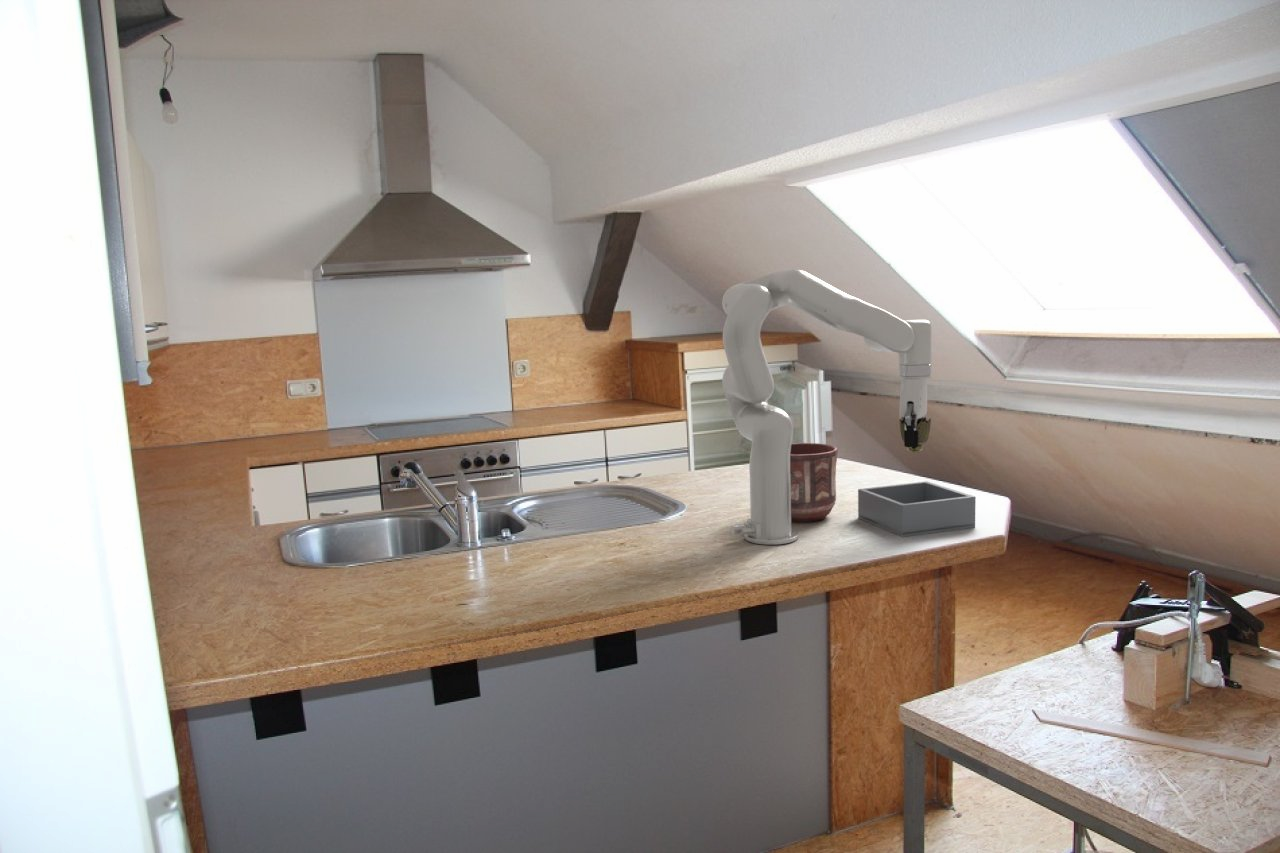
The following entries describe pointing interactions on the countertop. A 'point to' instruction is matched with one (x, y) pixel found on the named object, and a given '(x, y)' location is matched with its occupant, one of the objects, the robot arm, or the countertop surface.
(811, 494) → the pottery
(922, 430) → the brown patterned lamp shade
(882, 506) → the crate
